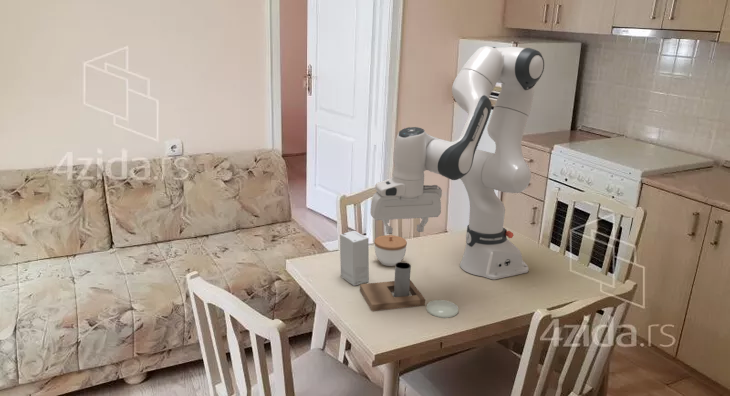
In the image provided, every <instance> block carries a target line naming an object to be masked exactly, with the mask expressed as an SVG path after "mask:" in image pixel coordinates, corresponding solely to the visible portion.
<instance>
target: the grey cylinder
mask: <svg viewBox="0 0 730 396" xmlns="http://www.w3.org/2000/svg"><path fill="white" fill-rule="evenodd" d="M411 265H412V264H411V263H408V262H405V261H400V262H399V263H396V265H395V266H394V280H393V281H394V292H393V296H394V297H402V296H410V292H409V287H410V280H411V273H412V271H411V267H412V266H411Z"/></svg>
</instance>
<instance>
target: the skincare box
mask: <svg viewBox="0 0 730 396" xmlns="http://www.w3.org/2000/svg"><path fill="white" fill-rule="evenodd" d="M369 239H370V238H369V237H367V236H365V235H364V234H361V232H360V233H359V232H358V231H356V230H352V231H348V232H343V233H340V234H339V245H340V246H339V248H340V249H339V250H340V254H339V257H340V278H342V279H343V280H345V281H346V282H348V283H349V284H351V285H352V286H354V287H355V286H357V285H358V286H360V284H368V283H370V282H369V281H370V277H369V276H370V274H369V273H370V272H369V271H370V268H369V265H370V263H369V260H370V259H369V258H370V257H369V256H370V255H369V250H370V249H369Z"/></svg>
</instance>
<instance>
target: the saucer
mask: <svg viewBox="0 0 730 396" xmlns="http://www.w3.org/2000/svg"><path fill="white" fill-rule="evenodd" d="M426 311H427V313H428V314H430V315H431V316H433V317H436V318H440V319H450V318H453V317H455V316H457V315H458V314H459V307H458V305H457V304H455V303H454V302H453V301H450V300H445V299H434V300H431V301H428V303H427V304H426Z"/></svg>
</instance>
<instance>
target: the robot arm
mask: <svg viewBox="0 0 730 396" xmlns="http://www.w3.org/2000/svg"><path fill="white" fill-rule="evenodd" d="M544 69H545V60H544V57H543V55H542V52H540V51H538V50H537V49H535V48H530V47H526V48H525V47H521V46H501V47H496V46H490V45H484V46H480V47H478V48H477V49H476V50H475V51H474V52H473V54H471V56H470V57H468V59H467V61H466V62H465V63H464V64H463V66H462V67H461V69H460V71H459V72H458V73H457V75H456V76H455V79H454V80H453V83H452V85H451V86H452V87H451V94H452V97H453V99H454V101H455V103H456V104H457V105H458V106H459V107H460V108H461V109H462V110H463V111H465V112H466V113H467V114H468V115H467V118H466V120H465V124H464V126H463V128H462V130H461V133H460V135H459V137H458V139H456V140H454V141H451V140H450V141H449V140H446V139H442V138H439V137H436V136H432V135H430V134H428V133H427V132H426V131H425V129H424V128H422V127H418V126H408V127H404V128H402V129H400V130H399V131H398V133H397V135H396V138H395V140H394V141H395V142H394V149H393V164H394V167H393V170H392V171H393V172H392V177H390V178H388V179H384V180H382V181H379V182H377V183H376V184H375V186H374V188H375V190H376V191H375V192H374V193H373V195H372V198H371V204H370V216H371V217H372V219H374V220H375V221H382V223H383V225H384V227H385V233H386V235H393V228H394V227H392V226H391V225H389V223H390V221H391V220H404V219H406V220H407V219H408V220H409V219H421V220H420V222H419V223H418V224H417V225H416V231H417V232H418V233H423V232H424V231H425V230H424V229H425V226H426V225H427V223H428V222H429V219H430V218H438V217H439V216H440V215H441V213H442V201H441V200H442V199H441V198H442V194H443V189H442V188H441V187H440V186H438V185H437V184H431V185H430V184H429V185H428V184H425V171H428V172H430V173H434V174H437V175H440V176H441V177H444V178H447V179H448V180H450V181H458V180H460V181H461V182H462V184H463V185H464V189H465V190H466V192H467V196H468V201H469V215H468V216H469V219H468V225H467V228H466V235H465V249H464V252H463V255H462V258H461V261H460V263H459V267H460V268H461V269H462V270H463V271H465V272H467V273H468V274H471V275H474V276H479V277H484V278H487V279H490V280H498V279H503V278H508V277H512V276H517V275H521V274H526V273H528V272H529V265H528V264H527V263H526V262H525V261H524V260H523V256H522V252H521V250H520V248H518V247H517V246H516V245H515V244H514V243H513V242H512V241H510V240H509V239H512V238H513V237H514V235H515V234H514V232H512V231H510V230H507V229H506V228H505V227H504V222H505V213H506V207H505V205H504V203H503V201H502V200H501V199H500V198H499V197H498V195H497V193H496V191H499V192H502V193H506V194H507V193H509V194H520V193H522V192H524V191H525V190H526V189H527V188H528V187H529V185H530V182H531V178H532V172H531V168H530V166H529V165H528V163H527V161H526V159H525V157H524V155H523V149H522V144H523V143H522V141H523V137H524V136H523V135H524V133H525V128H526V125H527V123H528V119H529V115H530V112H531V108H532V104H533V99H534V93H535V89H534V86H535V85H537V82H539V80H540V79H541V77H542V76H543V73H544V71H545V70H544ZM497 83H498V84H500V85H501V90H500V91H499V94H498V96H497V99H496V101H495V104H494V105H493V110H492V102H491V99H490V96H491V94H492V92H493V91H494V88H495V86H496V85H497ZM491 111H492V112H491ZM489 117H490V118H489ZM488 121H489V122H488ZM487 123H488V125H487ZM486 127H487V129H486V130H487V134H488V136H489V137H490V139H491V140H492V141H493V142H494V144H495V151H494V152H489V151H486V150H481V149H478V146H479V143H480V141H481V138H482V136H483V134H484V131H485V128H486ZM495 190H496V191H495Z"/></svg>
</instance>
